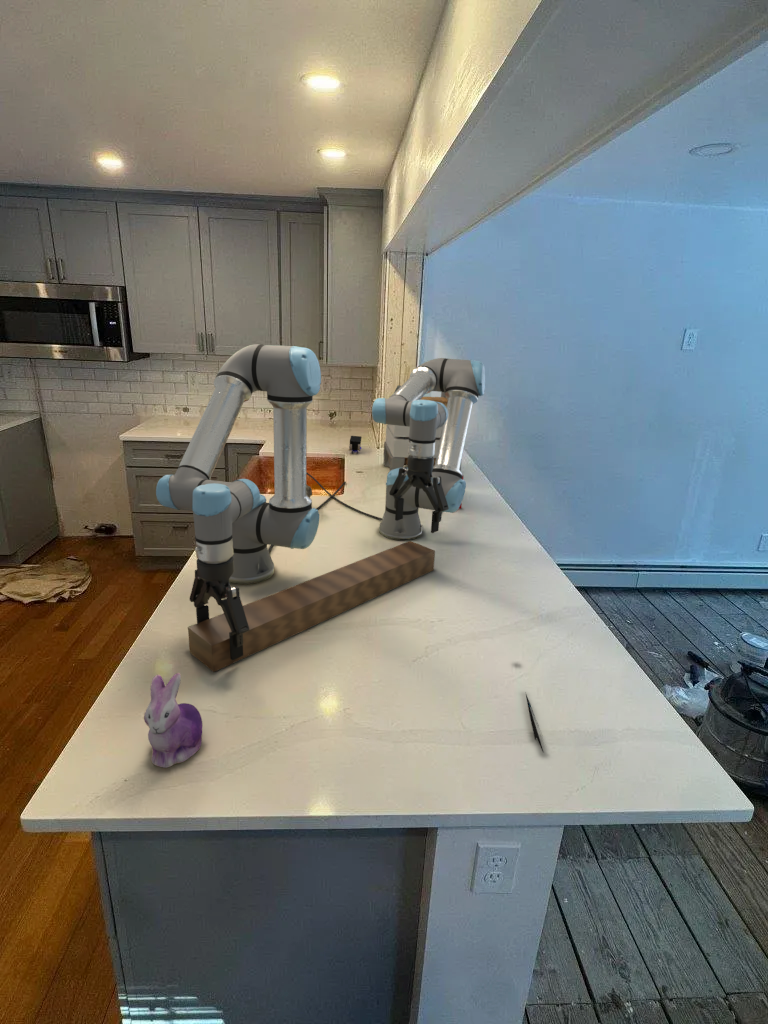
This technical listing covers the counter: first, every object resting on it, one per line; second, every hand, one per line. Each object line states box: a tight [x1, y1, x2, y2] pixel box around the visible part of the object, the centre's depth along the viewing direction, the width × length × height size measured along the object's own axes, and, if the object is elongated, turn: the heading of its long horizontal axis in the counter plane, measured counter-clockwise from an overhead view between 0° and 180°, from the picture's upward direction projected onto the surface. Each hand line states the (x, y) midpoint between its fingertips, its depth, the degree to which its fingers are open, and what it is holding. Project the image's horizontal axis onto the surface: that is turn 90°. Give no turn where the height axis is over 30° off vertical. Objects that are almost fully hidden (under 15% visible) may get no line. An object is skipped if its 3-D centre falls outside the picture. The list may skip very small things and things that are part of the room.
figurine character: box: [348, 435, 363, 455], centre depth 309 cm, size 7×8×15 cm
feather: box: [525, 691, 547, 753], centre depth 115 cm, size 2×28×2 cm
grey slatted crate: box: [383, 384, 463, 473], centre depth 268 cm, size 34×33×41 cm
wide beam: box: [187, 540, 436, 673], centre depth 149 cm, size 75×10×7 cm, turn 137°
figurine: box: [143, 672, 203, 768], centre depth 97 cm, size 9×10×15 cm
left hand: (219, 644), depth 127 cm, fingers open, 13 cm apart
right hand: (416, 525), depth 168 cm, fingers open, 13 cm apart
